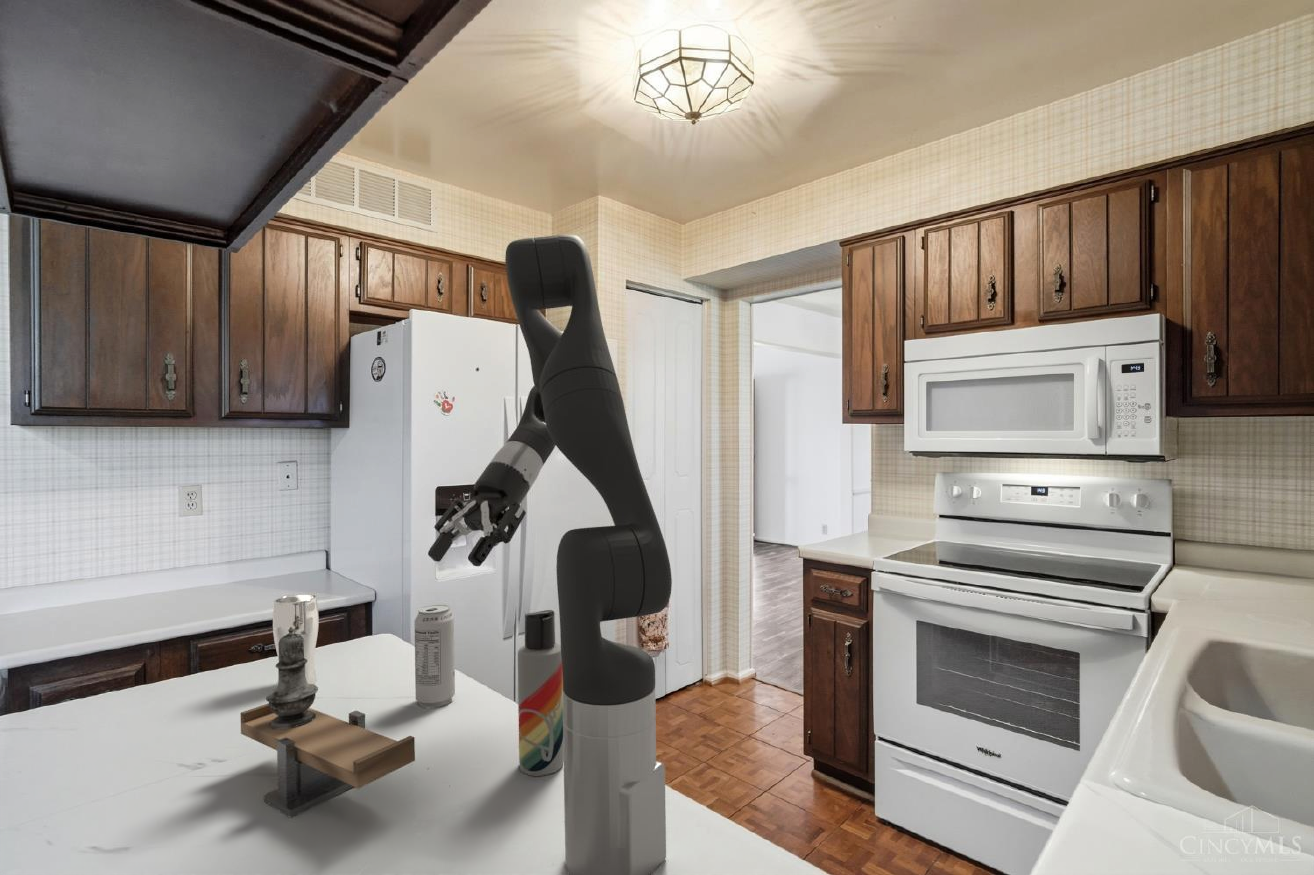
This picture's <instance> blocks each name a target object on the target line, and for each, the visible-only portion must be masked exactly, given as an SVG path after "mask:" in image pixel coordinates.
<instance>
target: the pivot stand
mask: <svg viewBox="0 0 1314 875" xmlns="http://www.w3.org/2000/svg"><path fill="white" fill-rule="evenodd" d="M348 723H351V724H353V725H356V726H359V727H361V728H364V729H366V713H363V712H361V711H359V710H354V711H351V712H349V713H348ZM276 751H277V752H276V754H277V756H276V758H277V760H276V761H277V762H276V766H277V788H276V789H273V790H272V791H269V792H268V793H265V794H263V802H264V803H265V804H267V805H269V806H270V807H272V808H274V809H276V810H277V811H279V812H280V813H282V814H284V815H285V816H287V817H288V818H293V817H295V816H297V815H300V814H301V813H303V812H305V811H307V810H309V809H311V808H313V807H315V806H317V805H319V804H322V803H324V802H325V801H328V800H330V799H332V798H334V797H335V796H338V795H339V794H343V793H344V792H346V791H348V790H350V789H353V788H355V787H354V786H352V785H349V784H347V783H345V782H343V781H341V780H339V779H337V778H334V777H332V776H330V775H328V774H326V773H324V772H322V771H319V770H317V769H315V768H313V767H311V766H309V765H307V764H305V763H302V762H300V761H298V760H296V759H295V742H294V741H292V740H290V739H288V738H283V739H281V740H278V741H277V750H276Z"/></svg>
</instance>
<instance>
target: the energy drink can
mask: <svg viewBox="0 0 1314 875" xmlns="http://www.w3.org/2000/svg"><path fill="white" fill-rule="evenodd" d="M455 662H456V661H455V617H454V615H453V613H452V611H451V607H450V606H449V605H446V604H431V605H426V606H425V605H424V606H423V607H421V608H418V613H417V615H416V617H415V619H414V666H415V668H414V674H415V676H414V679H415V682H414V683H415V687H414V689H415V700H416V702H419V706H420V707H422V708H425V707H434V708H439V707H440V708H441V707H443V706H446V705H448V704H449V703H450V702H452V698H453V697H454V696H455V694H456V681H455V680H456V676H455V673H456V672H455V666H456V664H455Z"/></svg>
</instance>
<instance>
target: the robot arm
mask: <svg viewBox="0 0 1314 875" xmlns="http://www.w3.org/2000/svg"><path fill="white" fill-rule="evenodd" d="M587 248H588V247H587V246H586V244H585V243H584V241H583V239H581V237H579V236H578V235H574V234H557V235H548V236H537V237H526V238H519V239H517V240H516V239H515V240H512V241H511V242H510V243H509V244H508V245H507V247H506V250H505V260H504V261H505V262H504V263H505V273H506V280H507V284H508V289H509V294H510V297H511V300H512V301H511V302H512V304H513V307H514V311H515V316H516V318H517V321H518V324H519V328H520V330H521V334H522V336H523V339H524V341H525V345H526V348H527V351H528V355H529V360H530V367H531V368H530V369H531V373H532V374H531V375H532V380H533V384H534V385H533V386H532V387H531V389H530V391H529V392H528V397H527V399H526V403H525V406H524V410H523V413H522V415H521V417H520V420H519V422H518V424H517V426H516V429H515V430H514V431H513V432H512V434H511V435H510V437H509V438H508V440H507V441H506V442H505V443H504V445H503V446H502V447H501V448H500V449H499V450H498V451H497V452H496V453H495V455H494V456H493V457H492V459H491V460H490V462H489V463H488V464H487V466H486V467H485V469H484V470H483V472H482V473H481V474H480V476H479V477H478V479H477V480H476V482H475V483H474V486H473V492H474V496H472V498H471V499H469V500H468V501H467V502H463V501H462V500H461V499H460V498H456V499H455V500H453V502H452V503H451V504H450V505H449V507H448V508H447V510H445V512H444V513H443V514H442V516H440V518H439V520H438V521H437V522H436V523H435V525H433V526H434V527H433V528H434V529H435V530H436V532H438V534H439V535H438V536H437V539H436V540H435V541H434V542H433V543H432V545H431V546H430V548H429V549H428V552H427V554H428V557H429V558H430V559H431V560H432V561H434V562H438V563H439V562H441V561H442V560H443V558H444V556H445V555H446V553H447V552H448V551H449V549H450V548H451V546H452V545H453V542H454V541H456V540H457V539H459V538H460V537H461V536H468V535H469V534H471V533H472V532H476V531H477V532H478V531H481V532H483V536H480V537H479V539H478V541H476V543H475V545H474V547H473V548H472V550H470V553H468V556H467V559H468V561H469V562H470V564H472V566H474V567H480V566H482V564H483V562H485V561H486V559H487V558H488V556H489V555H490V553H491V552H492V550H493V548H494V547H497V546H498V545H499V544H500V543H503V544H508V543H509V542H511V541H512V539H513V536H514V535H515V533H516V532H517V530H518V528H519V526H520V524H521V523H522V522H523V519H524V518H525V515H526V514H527V511H526V510H525V509H524V508H523V507H522V505H521V504H522V502H523V501H524V499H525V497H526V496H527V495H528V493H529V491H531V488H532V487H533V485H534V484H535V482H536V480H537V479H538V477H539V475H540V472H541V470H542V468H543V467H544V465H545V463H546V462H547V460H548V459H549V457H550V456H551V455H552V454H553V451H554V450H555V448H556V447H557V449H558V450H559V451H560V452H561V453H562V454H563V456H565V458H566V459H567V460H568V461H569V462H570V464H572V465H573V466H574V468H576V469H577V471H579V472H580V473H581V475H583V476H584V477H585V478H586V479H587V481H588V482H590V484H591V485H592V486H593V487H594V488H595V490H596V491H597V493H598V494H599V495H600V496H601V498H602V499H603V501H604V503H605V505H606V507H607V510H608V513H609V514H610V516H611V519H612V522H613V524H614V525H607V526H605V525H604V526H593V527H592V526H591V527H580V528H574V529H570V530H568V531H566V532H565V533H564V534H563V536H562V537H561V539H560V541H559V543H558V547H557V554H556V565H555V566H556V586H557V587H556V588H557V599H558V601H557V602H558V611H559V614H558V615H559V628H560V629H559V631H560V633H559V636H560V646H561V659H562V672H563V744H564V762H563V797H564V798H563V799H564V800H563V802H564V805H563V806H564V807H563V810H564V812H563V813H564V846H565V847H564V849H565V851H564V852H565V855H564V856H565V858H564V859H565V868H566V871H567V873H568V875H650V874H652V873H653V872H654V871H655V870H656V868H658V867H659V866H660V865H661V864H662V863H663V862H664V860H666V859H667V829H666V828H667V827H666V826H667V824H666V823H667V822H666V819H667V818H666V817H667V816H666V815H667V814H666V766H665V764H664V763H663V762H661V761H658V760H657V731H656V730H657V728H656V727H657V725H656V724H657V722H656V721H657V719H656V715H657V712H656V711H657V710H656V705H657V704H656V665H655V662H654V659H653V657H652V656H651V655H650V654H649V653H648V652H646V651H644V650H643V649H641V648H638V647H636V646H634V645H633V646H632V645H628V644H624V643H619V642H615V641H611V640H609V639H607V638H604V637H602V632H601V623H602V622H608V621H610V622H611V621H617V620H622V619H623V620H624V619H630V618H636V617H646V616H650V615H655V614H658V613H661V612H662V611H663V610H664V609H665V608H666V607H667V606H668V604H669V602H670V599H671V596H672V595H671V594H672V588H673V587H672V583H673V579H672V569H671V562H670V557H669V554H668V549H667V546H666V542H665V539H664V536H663V533H662V530H661V527H660V523H659V522H658V521H659V520H658V518H657V516H656V512H655V509H654V507H653V505H652V501H651V499H650V496H649V493H648V490H647V487H646V485H645V484H646V483H645V481H644V478H643V476H642V473H641V470H640V466H639V463H638V460H637V456H636V453H635V448H634V444H633V441H632V436H631V432H630V427H629V423H628V417H627V415H626V414H627V413H626V409H625V404H624V399H623V396H622V392H621V388H620V384H619V379H618V376H617V373H616V370H615V366H614V362H613V359H612V356H611V353H610V348H609V346H608V343H607V342H608V341H607V339H606V334H605V332H604V327H603V326H604V325H603V322H602V316H601V311H600V305H599V300H598V299H599V298H598V295H597V289H596V283H595V278H594V272H593V267H592V262H591V258H590V254H589V251H588V249H587ZM564 307H565V308H566V307H571V311H570V315H569V318H568V321H567V323H566V325H565V328H564V330H563V331H561V330H560V329H559V328H557V327H556V326H555V325H554V324H552V322H550V321H549V320H548V319H547V318H546V317H545V316H544V314H542V312H541V311H542V310H548V309H550V310H551V309H558V308H564ZM462 520H463V521H464V523H465V525H464V524H463V523H462V522H461V521H462ZM447 522H448V523H447ZM456 528H457V530H455V529H456ZM506 528H508V529H507V530H506ZM454 530H455V531H454ZM453 531H454V532H453Z"/></svg>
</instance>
